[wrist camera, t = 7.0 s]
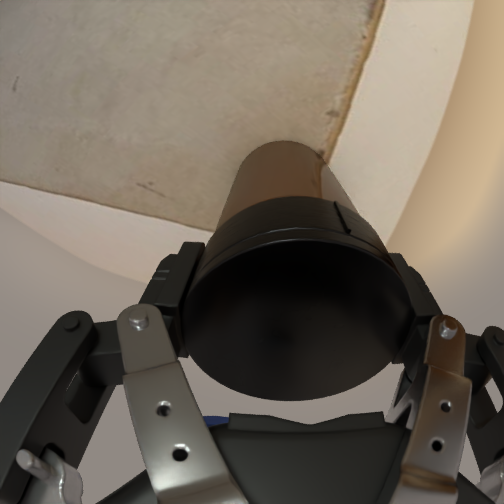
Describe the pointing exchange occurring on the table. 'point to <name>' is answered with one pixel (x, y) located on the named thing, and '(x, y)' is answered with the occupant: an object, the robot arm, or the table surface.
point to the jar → (282, 178)
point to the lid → (295, 301)
